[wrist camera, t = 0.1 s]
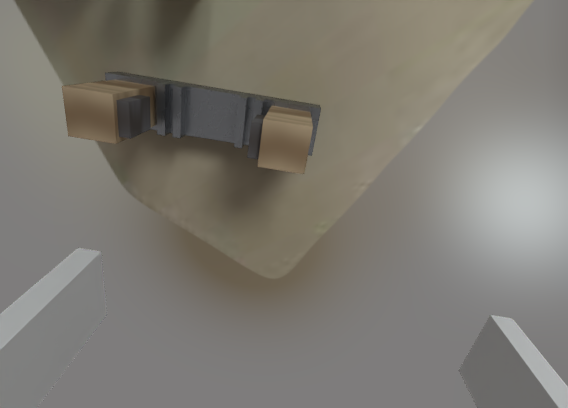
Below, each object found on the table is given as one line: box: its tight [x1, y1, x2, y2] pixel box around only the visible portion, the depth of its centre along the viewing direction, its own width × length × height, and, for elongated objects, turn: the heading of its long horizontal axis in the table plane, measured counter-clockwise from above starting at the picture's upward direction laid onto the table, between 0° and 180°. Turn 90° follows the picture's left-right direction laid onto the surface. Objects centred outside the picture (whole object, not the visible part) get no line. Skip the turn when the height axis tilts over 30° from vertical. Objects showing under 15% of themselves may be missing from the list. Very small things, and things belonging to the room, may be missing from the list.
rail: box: [105, 72, 321, 156], centre depth 34 cm, size 5×22×4 cm, turn 81°
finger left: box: [62, 80, 155, 144], centre depth 30 cm, size 4×5×8 cm
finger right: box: [247, 106, 313, 174], centre depth 30 cm, size 4×5×8 cm
